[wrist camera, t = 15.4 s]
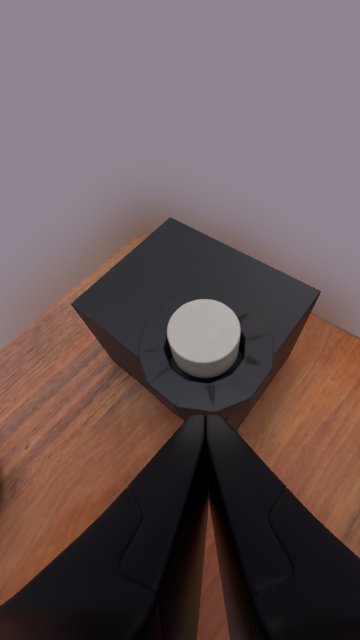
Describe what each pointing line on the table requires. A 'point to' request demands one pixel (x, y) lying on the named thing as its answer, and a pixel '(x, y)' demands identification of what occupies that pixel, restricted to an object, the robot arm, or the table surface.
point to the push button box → (188, 285)
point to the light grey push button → (204, 338)
